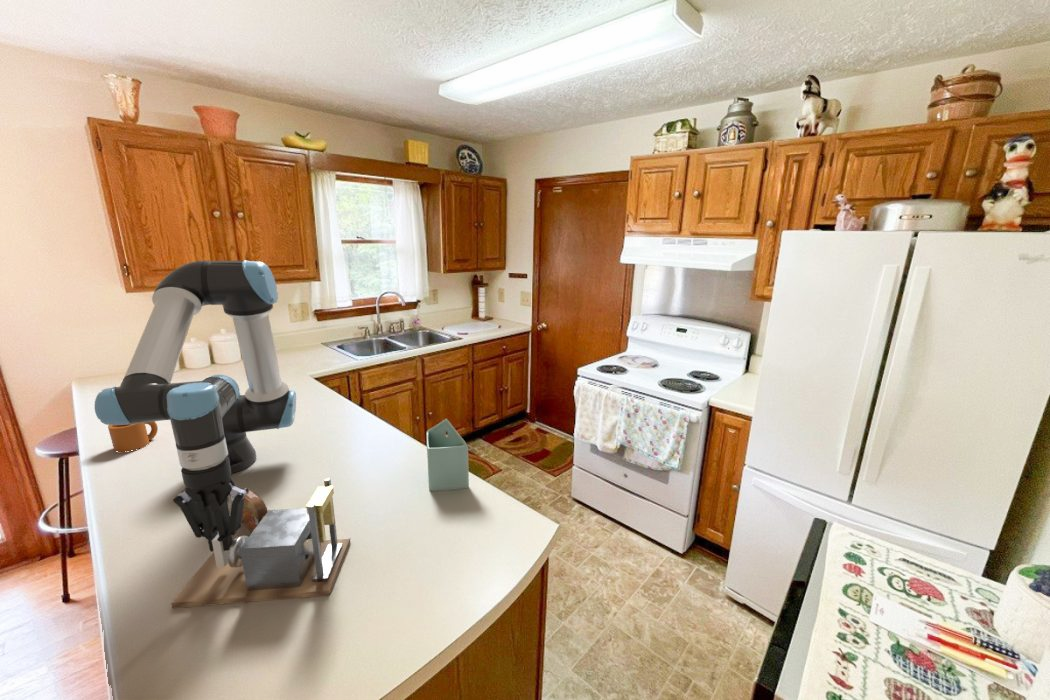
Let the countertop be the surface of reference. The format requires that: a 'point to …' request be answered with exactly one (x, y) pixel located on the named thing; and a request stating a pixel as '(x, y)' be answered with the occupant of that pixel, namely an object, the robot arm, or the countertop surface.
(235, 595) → the board
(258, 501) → the tin
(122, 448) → the mug
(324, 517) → the bracket
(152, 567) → the countertop surface
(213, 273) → the robot arm
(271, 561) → the block
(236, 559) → the pin
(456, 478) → the planter
